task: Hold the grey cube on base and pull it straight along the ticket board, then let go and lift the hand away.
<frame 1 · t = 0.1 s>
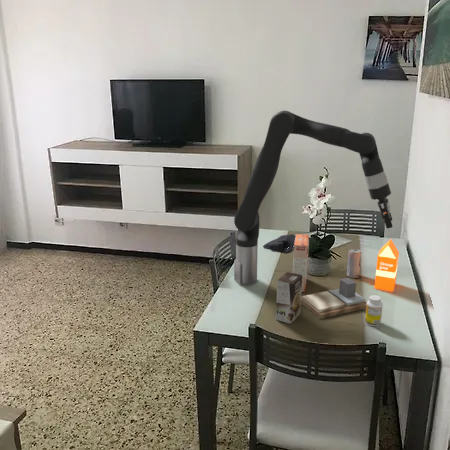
hand: (389, 224, 181), 31 cm above the table, tool tilted 20°, fingers open, 8 cm apart
coffee box: (288, 317, 177), on the table
supplement bottle: (372, 323, 172), on the table
dark slate chunk: (283, 245, 250), on the table
grey cube on base: (347, 289, 187), point 5 cm above the table, slide at 0.0 cm
orange juice: (384, 286, 202), on the table
ticket board: (332, 303, 186), on the table
cracker box: (299, 285, 203), on the table
energy drink: (352, 275, 212), on the table
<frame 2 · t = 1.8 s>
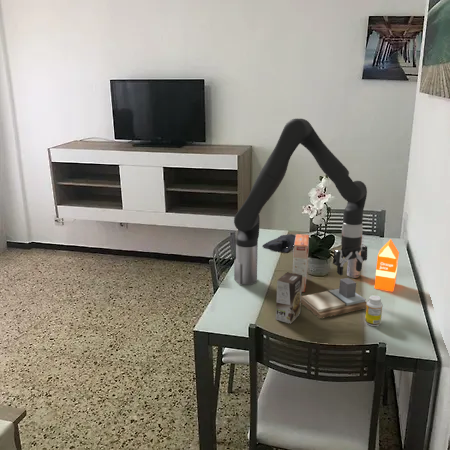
hand: (349, 272, 185), 12 cm above the table, tool pointing down, fingers open, 8 cm apart
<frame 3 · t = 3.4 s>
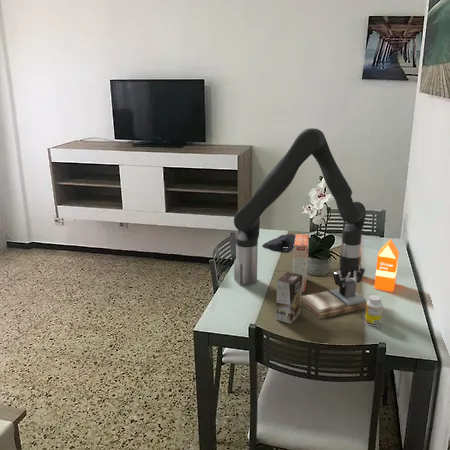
hand: (347, 293, 188), 3 cm above the table, tool pointing down, fingers closed on grey cube on base, 4 cm apart
grey cube on base: (347, 289, 187), point 5 cm above the table, slide at 0.0 cm, touching gripper
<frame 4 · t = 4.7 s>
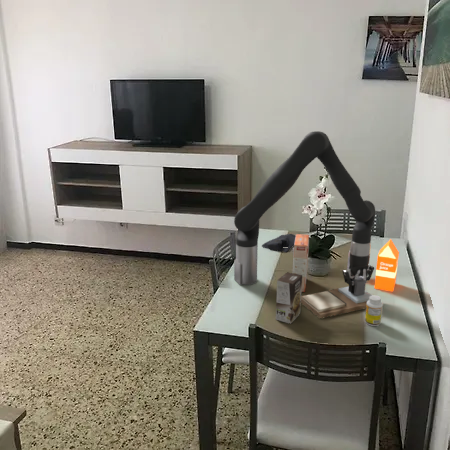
hand: (356, 291, 189), 3 cm above the table, tool pointing down, fingers closed on grey cube on base, 4 cm apart
grey cube on base: (356, 287, 189), point 5 cm above the table, slide at 4.5 cm, touching gripper
everything else where it was.
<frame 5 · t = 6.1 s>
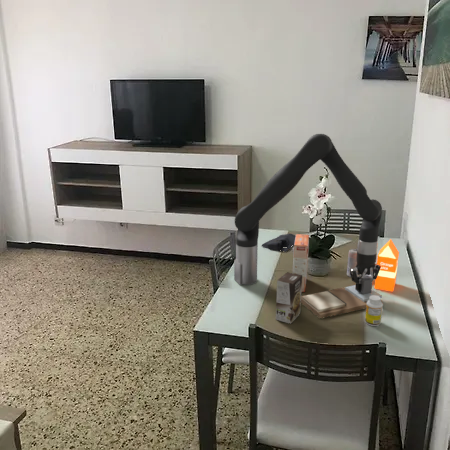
hand: (363, 290, 191), 3 cm above the table, tool pointing down, fingers closed on grey cube on base, 4 cm apart
grey cube on base: (363, 285, 190), point 5 cm above the table, slide at 7.9 cm, touching gripper
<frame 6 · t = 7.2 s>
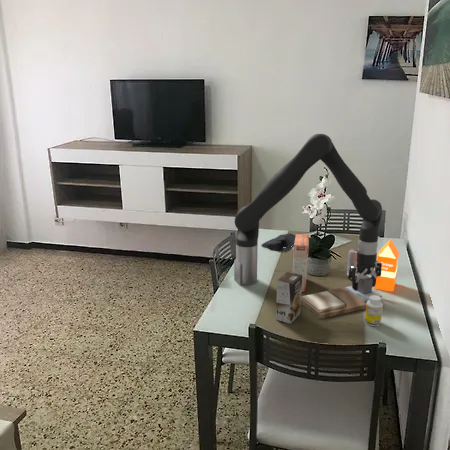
hand: (363, 288, 190), 4 cm above the table, tool pointing down, fingers open, 8 cm apart
grey cube on base: (363, 285, 190), point 5 cm above the table, slide at 8.0 cm
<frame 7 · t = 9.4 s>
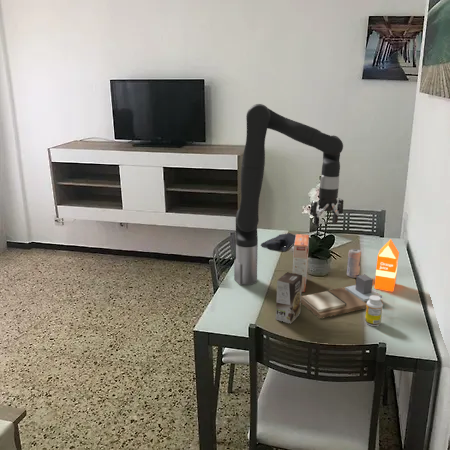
hand: (325, 224, 196), 27 cm above the table, tool pointing down, fingers open, 8 cm apart
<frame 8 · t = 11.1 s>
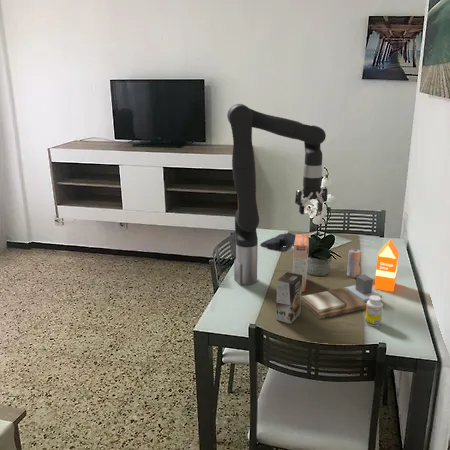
hand: (310, 212, 200), 30 cm above the table, tool pointing down, fingers open, 8 cm apart
at the end: grey cube on base slide at 8.0 cm; the gripper is holding nothing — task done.
